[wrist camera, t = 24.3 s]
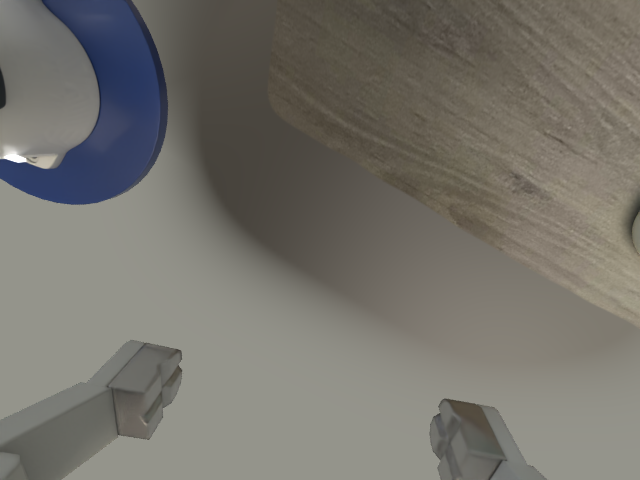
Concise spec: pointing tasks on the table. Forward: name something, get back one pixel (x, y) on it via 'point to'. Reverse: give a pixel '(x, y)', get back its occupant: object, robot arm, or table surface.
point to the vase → (636, 232)
